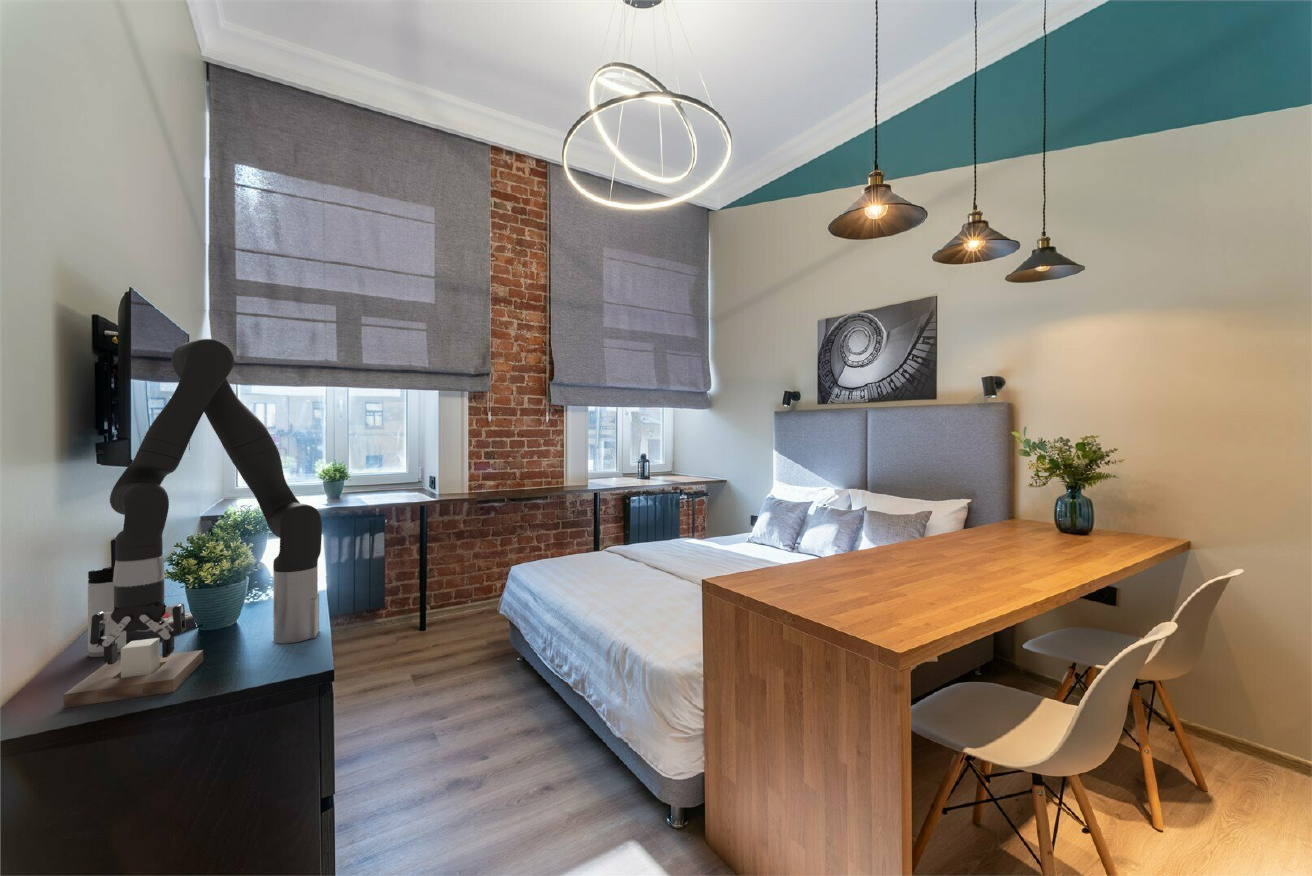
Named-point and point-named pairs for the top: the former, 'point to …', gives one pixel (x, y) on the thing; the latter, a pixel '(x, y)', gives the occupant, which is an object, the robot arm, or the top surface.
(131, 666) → the peg
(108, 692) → the socket base
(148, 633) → the calculator
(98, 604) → the travel mug
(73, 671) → the top surface
